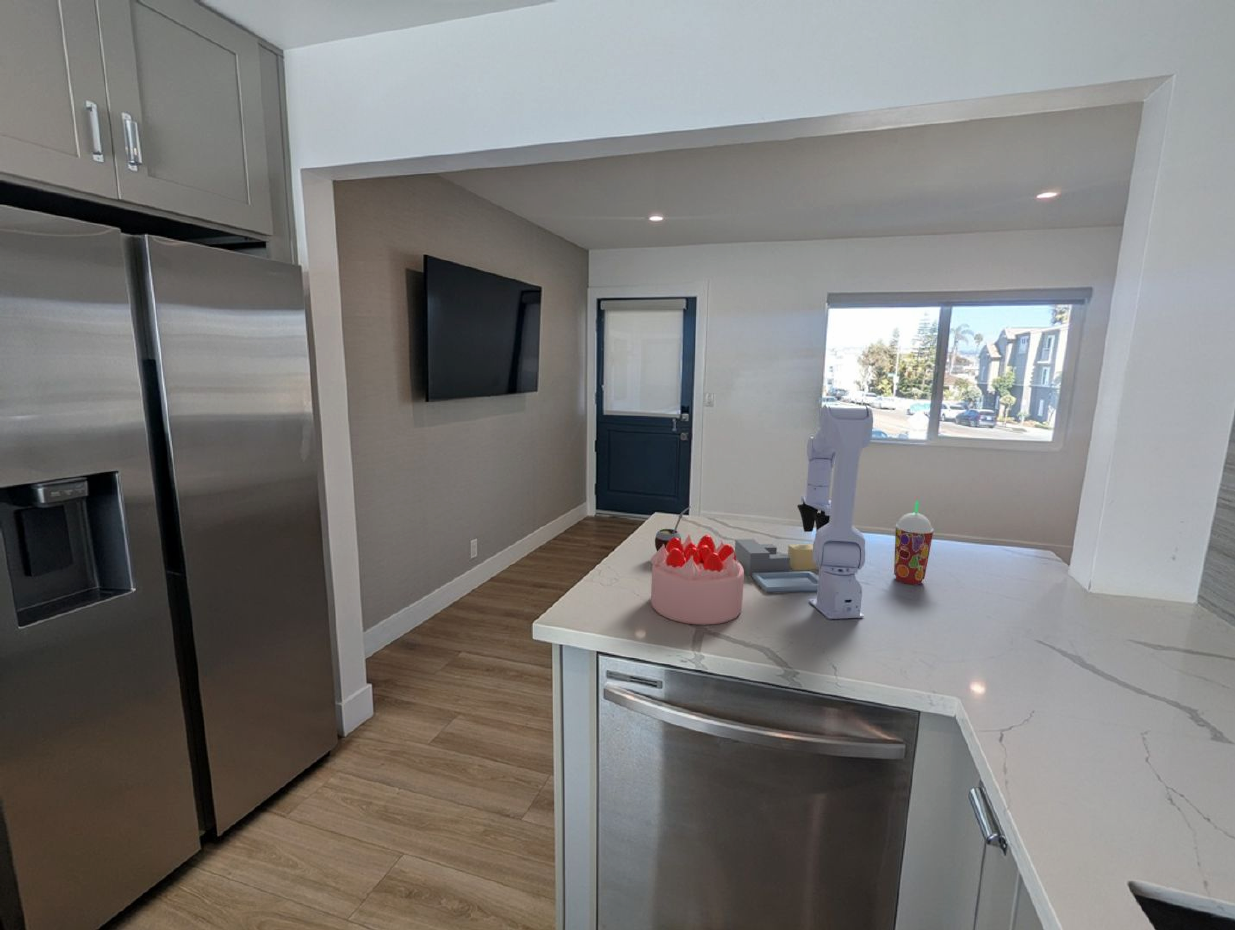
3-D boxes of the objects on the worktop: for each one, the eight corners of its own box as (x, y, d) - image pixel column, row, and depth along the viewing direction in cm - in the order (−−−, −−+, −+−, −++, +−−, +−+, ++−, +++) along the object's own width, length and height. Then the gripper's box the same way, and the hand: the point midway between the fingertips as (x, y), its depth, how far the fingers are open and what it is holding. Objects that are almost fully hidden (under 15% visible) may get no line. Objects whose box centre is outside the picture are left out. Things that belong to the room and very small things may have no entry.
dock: (788, 575, 147) (790, 552, 146) (749, 576, 145) (750, 553, 144) (771, 559, 158) (772, 538, 157) (734, 561, 156) (735, 539, 155)
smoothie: (919, 575, 148) (927, 498, 144) (933, 587, 140) (943, 506, 136) (885, 573, 149) (892, 497, 145) (897, 586, 141) (905, 505, 137)
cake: (748, 628, 117) (752, 560, 114) (648, 623, 118) (650, 556, 116) (735, 590, 136) (738, 532, 134) (649, 587, 137) (651, 529, 135)
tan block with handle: (833, 569, 152) (835, 548, 151) (793, 570, 151) (795, 550, 150) (825, 563, 156) (827, 543, 155) (787, 564, 155) (788, 544, 154)
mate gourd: (648, 559, 156) (650, 505, 154) (669, 553, 162) (670, 500, 159) (669, 567, 151) (671, 510, 148) (689, 560, 156) (691, 506, 154)
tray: (827, 591, 137) (828, 585, 136) (766, 593, 135) (767, 587, 134) (810, 576, 146) (810, 571, 145) (752, 578, 144) (752, 573, 143)
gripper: (847, 490, 143) (843, 543, 145) (820, 478, 157) (816, 527, 160) (820, 490, 142) (816, 544, 144) (795, 479, 156) (791, 528, 159)
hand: (814, 535), depth 152 cm, fingers open, 7 cm apart
